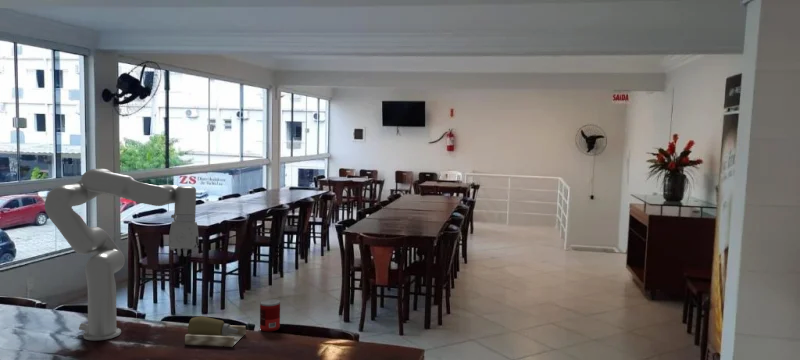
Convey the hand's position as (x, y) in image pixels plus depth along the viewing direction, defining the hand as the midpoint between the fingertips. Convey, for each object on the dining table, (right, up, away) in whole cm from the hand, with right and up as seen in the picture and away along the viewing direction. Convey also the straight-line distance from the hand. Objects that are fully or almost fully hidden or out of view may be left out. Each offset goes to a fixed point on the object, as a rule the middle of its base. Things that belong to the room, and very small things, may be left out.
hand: (183, 265), depth 210 cm
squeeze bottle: (+4, -22, -3) cm, 23 cm away
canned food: (+31, -27, +10) cm, 42 cm away
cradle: (+14, -27, -4) cm, 31 cm away
